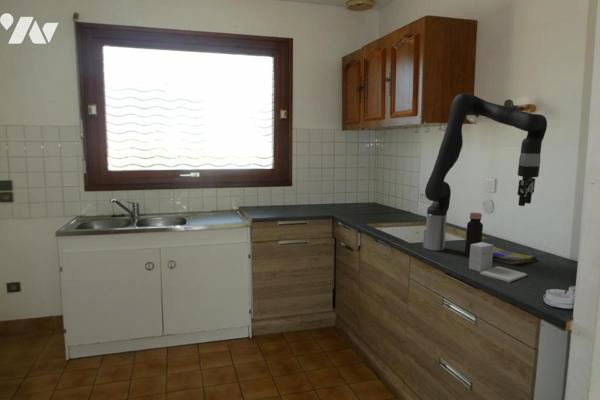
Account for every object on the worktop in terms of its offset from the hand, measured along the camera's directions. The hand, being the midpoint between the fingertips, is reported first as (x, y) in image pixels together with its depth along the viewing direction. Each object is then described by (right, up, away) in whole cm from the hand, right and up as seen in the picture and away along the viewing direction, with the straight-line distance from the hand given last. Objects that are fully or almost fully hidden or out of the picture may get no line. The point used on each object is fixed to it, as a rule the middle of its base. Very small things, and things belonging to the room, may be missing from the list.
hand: (524, 204), depth 175 cm
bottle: (-11, -24, +26) cm, 37 cm away
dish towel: (+3, -25, +25) cm, 36 cm away
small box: (-16, -27, +6) cm, 32 cm away
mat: (-10, -28, -2) cm, 30 cm away
